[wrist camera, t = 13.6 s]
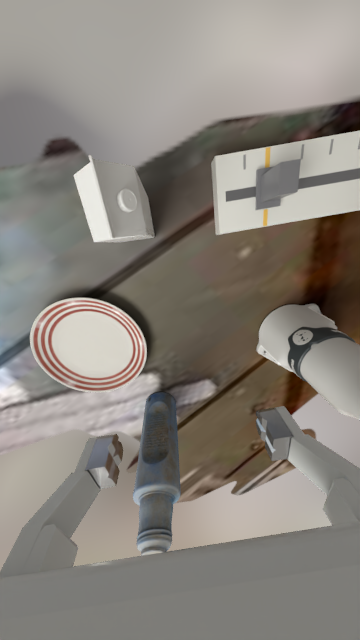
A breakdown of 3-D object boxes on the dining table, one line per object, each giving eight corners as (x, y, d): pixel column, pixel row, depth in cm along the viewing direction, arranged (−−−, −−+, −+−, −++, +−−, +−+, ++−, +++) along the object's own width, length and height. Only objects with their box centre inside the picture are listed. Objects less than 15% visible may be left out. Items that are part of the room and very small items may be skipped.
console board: (373, 134, 32) (392, 124, 29) (356, 210, 37) (371, 208, 34) (211, 163, 32) (215, 155, 30) (215, 234, 37) (219, 234, 34)
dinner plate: (93, 270, 39) (87, 272, 36) (168, 352, 49) (168, 359, 46) (14, 336, 44) (3, 342, 41) (96, 398, 54) (92, 407, 51)
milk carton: (121, 242, 37) (79, 242, 19) (111, 202, 34) (52, 160, 16) (155, 237, 37) (143, 233, 19) (148, 197, 34) (127, 149, 16)
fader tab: (281, 165, 30) (306, 148, 25) (278, 206, 33) (301, 198, 27) (256, 170, 30) (275, 154, 25) (255, 210, 33) (273, 203, 27)
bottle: (174, 389, 54) (180, 540, 27) (177, 411, 58) (185, 562, 31) (143, 393, 54) (117, 548, 27) (148, 415, 58) (131, 569, 31)
